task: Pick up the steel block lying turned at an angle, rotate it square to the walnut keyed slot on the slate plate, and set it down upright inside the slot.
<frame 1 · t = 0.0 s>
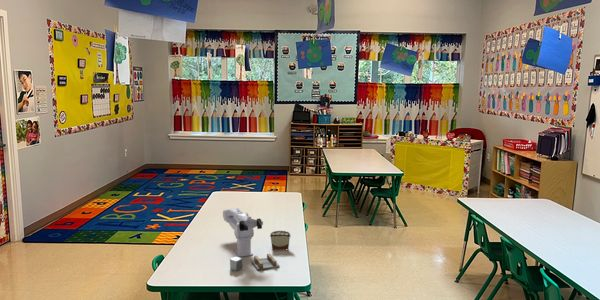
hand: (254, 227, 233), 22 cm above the table, tool horizontal, fingers open, 7 cm apart
food container: (280, 248, 263), on the table
steel block: (236, 269, 233), on the table
slot seat: (265, 264, 239), on the table
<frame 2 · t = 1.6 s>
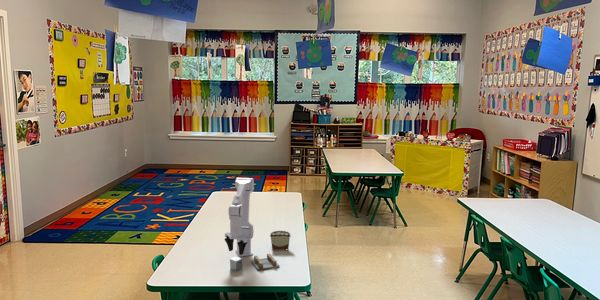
hand: (236, 252, 231), 9 cm above the table, tool pointing down, fingers open, 7 cm apart
nothing on the table moved.
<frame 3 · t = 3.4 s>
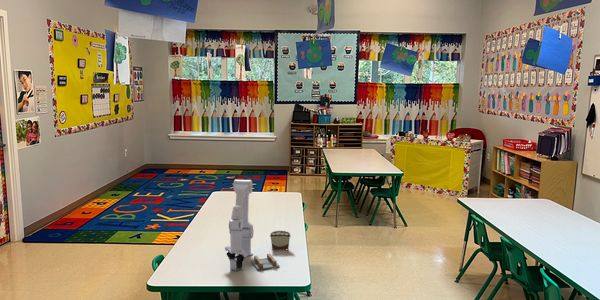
hand: (236, 266, 233), 2 cm above the table, tool pointing down, fingers closed on steel block, 4 cm apart
steel block: (236, 269, 233), on the table, touching gripper
everything else where it was.
when the fingers open (4 cm above the table, at t = 7.5 s): steel block drops 1 cm, resting on slot seat.
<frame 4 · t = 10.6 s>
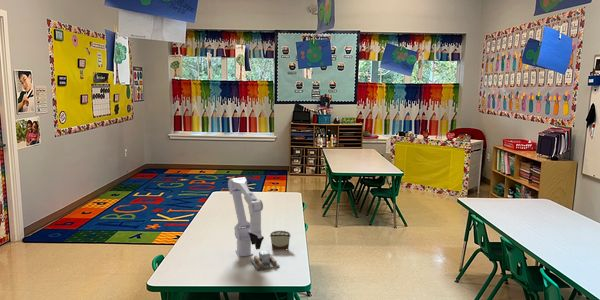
hand: (255, 246, 240), 9 cm above the table, tool pointing down, fingers open, 7 cm apart
steel block: (264, 263, 239), point 1 cm above the table, touching slot seat
everything else where it was.
at the end: steel block 0.4 cm off-centre on the slot seat, point 1.0 cm above the slot seat's base; steel block tilted 0°; the gripper is holding nothing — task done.
